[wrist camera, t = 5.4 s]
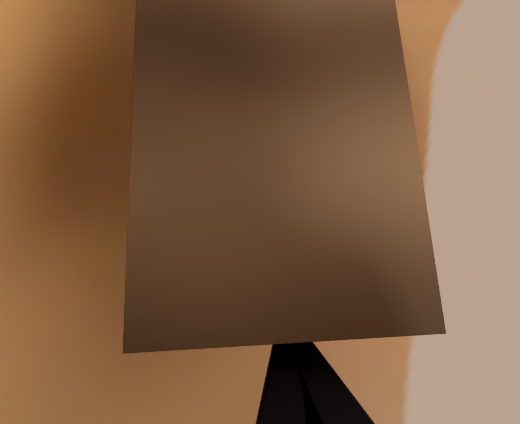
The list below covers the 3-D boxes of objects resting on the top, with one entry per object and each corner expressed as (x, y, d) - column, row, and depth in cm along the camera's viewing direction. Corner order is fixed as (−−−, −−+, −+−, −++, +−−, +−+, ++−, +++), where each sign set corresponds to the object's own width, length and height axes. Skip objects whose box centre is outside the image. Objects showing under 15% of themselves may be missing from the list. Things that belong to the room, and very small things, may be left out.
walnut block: (336, 314, 16) (446, 333, 8) (174, 323, 15) (122, 353, 7) (311, 39, 19) (373, -139, 11) (176, 35, 18) (142, -159, 10)
